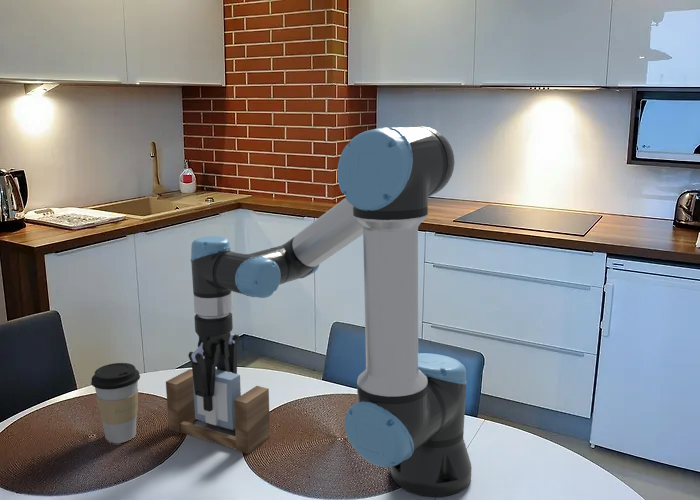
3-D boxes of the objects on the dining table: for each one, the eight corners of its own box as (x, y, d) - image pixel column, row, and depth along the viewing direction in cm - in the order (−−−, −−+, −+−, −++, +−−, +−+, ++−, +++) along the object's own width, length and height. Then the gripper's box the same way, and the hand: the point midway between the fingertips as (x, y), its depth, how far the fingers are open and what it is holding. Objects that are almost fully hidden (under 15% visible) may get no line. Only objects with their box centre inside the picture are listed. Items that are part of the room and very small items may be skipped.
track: (270, 437, 135) (268, 388, 133) (248, 454, 129) (246, 403, 126) (192, 414, 145) (190, 368, 142) (168, 429, 138) (165, 381, 136)
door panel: (241, 423, 135) (240, 374, 133) (232, 430, 133) (230, 380, 130) (204, 412, 140) (202, 365, 138) (194, 419, 137) (191, 370, 135)
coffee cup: (129, 451, 130) (123, 381, 126) (87, 446, 132) (80, 377, 128) (152, 428, 139) (147, 363, 135) (112, 424, 141) (107, 359, 137)
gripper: (224, 299, 140) (228, 399, 145) (170, 321, 126) (177, 431, 131) (252, 304, 136) (255, 407, 141) (200, 328, 122) (206, 441, 127)
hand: (218, 418), depth 136 cm, fingers closed on door panel, 3 cm apart
